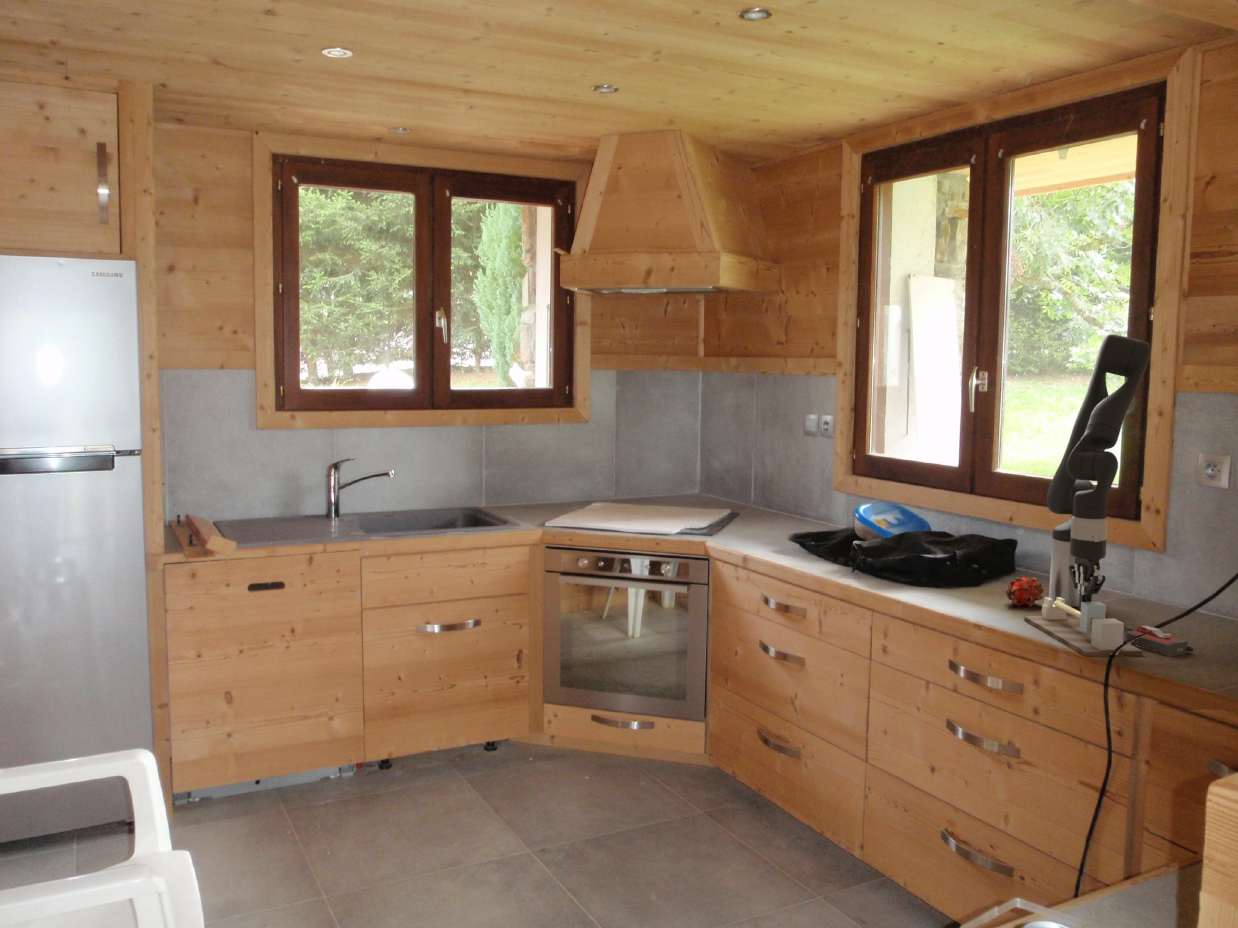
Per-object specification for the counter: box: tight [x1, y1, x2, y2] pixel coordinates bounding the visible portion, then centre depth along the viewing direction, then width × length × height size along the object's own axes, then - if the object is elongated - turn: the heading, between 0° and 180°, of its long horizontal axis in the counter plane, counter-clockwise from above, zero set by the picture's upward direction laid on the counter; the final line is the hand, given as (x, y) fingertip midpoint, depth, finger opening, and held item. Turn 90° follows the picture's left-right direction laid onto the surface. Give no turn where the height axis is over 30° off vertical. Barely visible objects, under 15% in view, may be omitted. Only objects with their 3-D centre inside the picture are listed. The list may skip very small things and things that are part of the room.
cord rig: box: [1041, 596, 1125, 650], centre depth 233 cm, size 28×5×6 cm, turn 2°
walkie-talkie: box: [1124, 624, 1194, 657], centre depth 228 cm, size 9×4×20 cm
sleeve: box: [1080, 601, 1107, 633], centre depth 227 cm, size 3×4×6 cm
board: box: [1023, 615, 1144, 657], centre depth 233 cm, size 30×13×1 cm, turn 2°
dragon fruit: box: [1005, 574, 1045, 608], centre depth 263 cm, size 8×8×12 cm
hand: (1084, 609), depth 231 cm, fingers closed
